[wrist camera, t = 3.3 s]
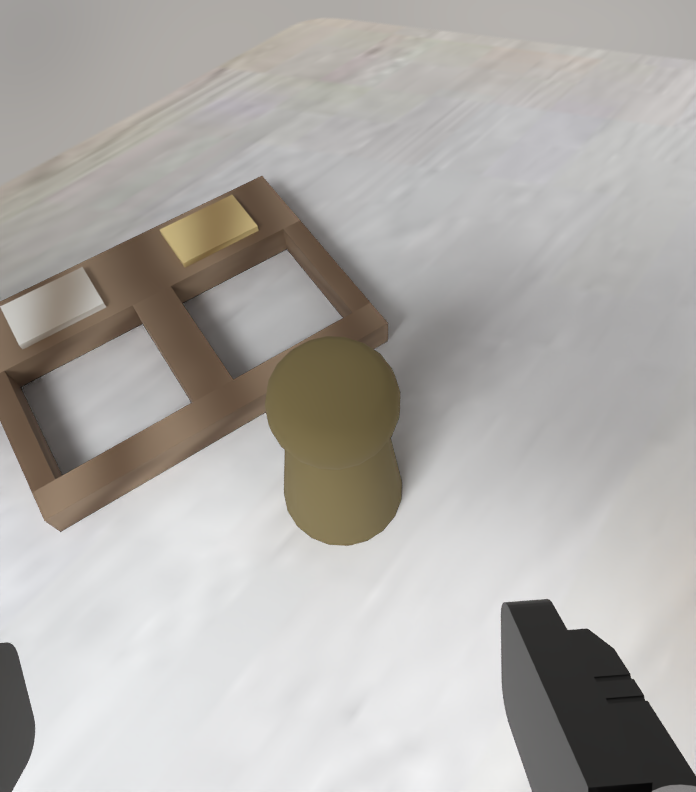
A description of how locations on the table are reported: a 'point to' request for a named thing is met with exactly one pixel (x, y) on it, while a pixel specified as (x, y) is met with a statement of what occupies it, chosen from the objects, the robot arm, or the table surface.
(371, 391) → the olive pawn figure
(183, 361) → the wooden frame
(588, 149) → the table surface
